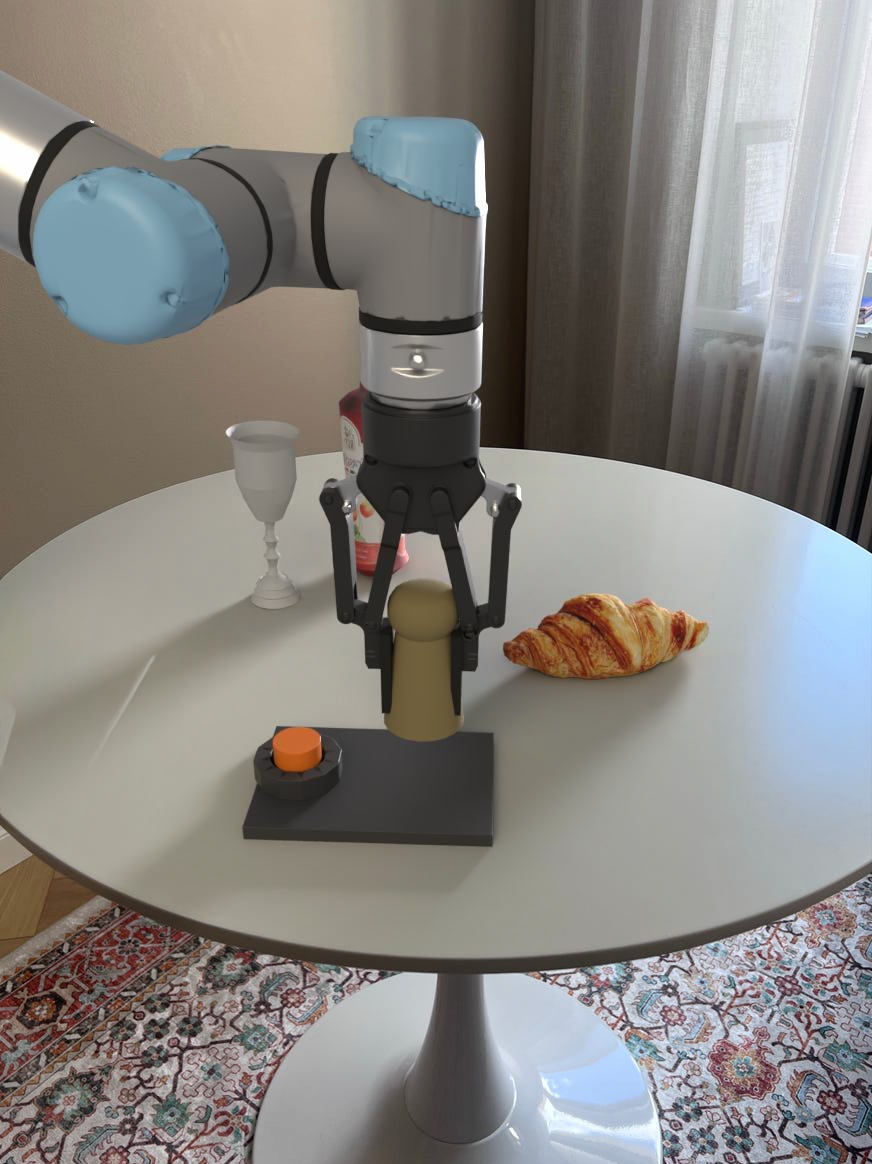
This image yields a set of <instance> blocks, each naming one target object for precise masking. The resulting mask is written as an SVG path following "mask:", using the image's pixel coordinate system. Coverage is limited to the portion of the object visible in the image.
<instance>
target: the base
mask: <svg viewBox="0 0 872 1164" xmlns="http://www.w3.org/2000/svg"><path fill="white" fill-rule="evenodd" d="M293 727H294V726H290V725H276V726H275V729H274V732H273V735H272V736H271V738H269V739H267V740H266V741H265V742H264V743H262V744H260V745H259V746H258V747H257V749H256V751H255V755H254V758H253V761H252V762H253V771H254V772H253V773H254V780H255V782H256V786H255V789H254V792H253V795H252V798H251V801H250V803H249V807H248V809H247V812H246V815H245V818H244V820H243V821H244V822H243V824H242V828H241V829H242V836H243V840H250V841H251V840H253V841H257V840H258V841H284V842H285V841H287V842H318V843H320V842H322V843H323V842H324V843H351V844H353V843H354V844H383V845H412V846H413V845H415V846H416V845H418V846H419V845H420V846H449V847H477V848H479V847H480V848H481V847H482V848H492V847H493V839H494V732H489V731H487V732H485V731H457V732H456V733H455V734H453V735H451V736H449V737H447V738H444V739H440V740H435V741H421V742H419V741H412V740H406V739H404V738H401V737H398V736H396V735H394V734H393V733H392V732H390V731H389V730H388V729H387V728H354V727H353V728H352V727H323V726H305V727H306V728H310V729H313V730H315V731H316V732H317V733H318V734H319V735H320V737H321V752H322V759H321V762H320V763H319V764H318V765H317V766H316V767H315V768H311V769H308V770H304V771H301V772H297V771H284V770H281V769H279V768H278V767H277V766H276V765H275V762H274V753H273V739H274V737H275V736H276V735H277V734H278V733H279V732H281V731H283V730H285V729H288V728H293Z"/></svg>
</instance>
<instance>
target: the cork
mask: <svg viewBox="0 0 872 1164" xmlns="http://www.w3.org/2000/svg"><path fill="white" fill-rule="evenodd" d="M387 598H388V599H387V601H386V612H387V617H388V620H389V623H390V625H391V626H392V628H393V629H394V643H393V654H392V706H391V712H390V714H388V713H383V724H384V725H385V727H386V729H388V730H389V731H390V732H392V733H393V734H394V735H396V736H398V737H401V738H404V739H406V740H412V741H419V742H421V741H435V740H440V739H444V738H447V737H449V736H451V735H453V734H455V733H456V732H459V731H460V730H461V729H462V727H463V725H464V723H465V715H464V708H463V701H462V700H463V699H462V700H461V716H456V715H455V713H454V707H453V701H452V695H451V636H452V631H453V630H454V629H455V627H456V626H457V624H458V621H459V615H458V611H457V607H456V603H455V598H454V594H453V590H452V585H451V584H448V583H446V582H444V581H442V580H438V579H434V578H428V577H427V578H426V577H425V578H424V577H423V578H420V577H419V578H412V579H408V580H406V581H403V582H401V583H400V584H398V585H396V586H395V587H394V588H393V590H392V591H391V593H390V594H389V595H388V597H387Z"/></svg>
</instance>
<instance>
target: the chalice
mask: <svg viewBox="0 0 872 1164" xmlns="http://www.w3.org/2000/svg"><path fill="white" fill-rule="evenodd" d="M299 433H300V430H299V428H298V427H296V426H294V425H293V424H289V423H287V422H283V421H276V420H250V421H245V422H244V421H243V422H239V423H235V424H233V425H231V426H229V427H228V428H227V429H226V430H225V434H226V436H227V438H228V439H229V441H230V443H231V444H232V456H233V465H234V466H233V467H234V476H235V477H234V478H235V481H236V484H237V487H238V489H239V491H240V494H241V496H242V498H243V500H244V502H245V504H246V505H247V507H248V509H249V510H250V512H251V514H252V515H253V517H254V519H255V520H256V521H258V522H261V523H263V524H264V526H265V532H264V536H263V538H262V540H263V542H264V543H265V545H266V552H265V553H264V554H263V558H264V559H265V560H266V561H267V564H268V570H267V571H266V572H265V574H263V575H261V576H260V577H259V579H257V581H256V583H255V584H256V585H255V586H254V589H253V593H252V595H251V597H250V601H251V603H252V604H253V605H254V606H256V607H258V608H260V609H267V610H278V609H280V610H281V609H285V608H289V607H292V606H293V605H295V604H297V603H298V602H299V601H300V598H301V596H300V593H299V592H298V591H297V589H296V588H297V587H296V585H294V583H293V580H292V579H291V578H290V576H289V575H287V574H285V573H284V572H281V571H280V570H279V567H278V563H279V559H280V558H281V557H282V555H281V554H280V552H278V550H277V549H278V548H277V544H278V541H279V539H280V538H279V537H278V535H277V533H276V529H275V527H276V522H279V521H281V520H283V519H284V516H285V514H286V511H287V509H288V507H289V505H290V502H291V499H292V498H293V494H294V490H295V487H296V483H297V480H298V477H297V475H298V474H297V460H296V446H295V442H296V440H297V438H298V436H299Z"/></svg>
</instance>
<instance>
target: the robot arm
mask: <svg viewBox="0 0 872 1164" xmlns="http://www.w3.org/2000/svg"><path fill="white" fill-rule="evenodd" d="M349 150H350V151H341V152H329V153H314V152H301V151H300V152H299V151H298V152H297V151H286V150H285V151H284V150H272V149H271V150H269V149H253V148H252V149H251V148H236V147H235V148H233V147H231V146H229V145H219V144H216V145H211V146H198V147H177V148H172V149H170V150H167V151H165V152H164V153H163V154H162V155H161V156H160V157H157V156H156V155H154V154H152V153H151V152H149V151H147V150H145V149H144V148H141V147H140V146H137V145H136V144H134V143H132V142H130V141H128V140H127V139H125V138H124V137H122V136H120V135H117V134H115V133H113V132H111V131H110V130H107V129H106V128H104V127H102V126H100V125H98V124H96V123H95V122H94V121H92V120H91V119H90V118H88V117H86V116H84V115H83V114H81V113H79V112H77V111H75V110H74V109H71V108H70V107H68V106H66V105H64V104H63V103H61V102H59V101H58V100H56V99H53V98H51V97H50V96H48V95H47V94H45V93H43V92H41V91H39V90H37V89H36V88H34V87H32V86H30V85H28V84H27V83H25V82H23V81H21V80H20V79H18V78H16V77H14V76H12V75H11V74H9V73H6V72H5V71H3V70H2V69H0V249H1V250H2V251H4V252H6V253H8V254H10V255H12V256H13V257H16V258H17V259H19V260H21V261H23V262H24V263H27V264H28V265H30V266H32V267H34V268H36V271H37V274H38V278H39V281H40V284H41V285H42V287H43V289H44V290H45V292H46V294H47V296H48V297H49V299H51V300H52V301H53V302H54V304H55V305H56V306H57V307H58V309H59V310H60V311H61V313H62V314H63V315H64V316H65V317H66V320H67V321H68V322H69V323H71V324H72V325H73V326H74V327H75V328H77V329H78V330H79V331H81V332H83V333H84V334H86V335H88V336H90V337H93V338H94V339H97V340H100V341H103V342H105V343H108V344H113V345H120V346H121V345H122V346H133V345H134V346H135V345H142V344H146V343H150V342H154V341H157V340H161V339H168V338H171V337H173V336H177V335H180V334H184V333H187V332H189V331H191V330H193V329H195V328H197V327H199V326H201V325H202V323H204V321H206V320H208V319H209V318H210V317H213V316H215V315H216V314H218V313H220V312H222V311H224V310H226V309H228V308H230V307H233V306H234V305H238V304H241V302H242V303H243V302H244V301H246V300H249V299H250V298H252V297H255V296H256V295H259V294H261V293H263V292H265V291H267V290H269V289H271V288H279V287H281V288H305V289H308V288H309V289H326V290H327V289H328V290H331V291H332V290H333V291H346V290H350V291H351V290H352V291H356V295H357V300H358V305H359V307H358V322H359V321H360V329H359V353H360V358H359V359H360V371H361V383H362V385H363V386H364V387H365V388H366V389H367V390H368V391H369V392H367V394H366V395H365V396H364V397H363V399H362V427H363V462H362V464H361V466H360V467H359V470H358V473H357V475H355V476H352V477H349V478H343V479H341V480H339V479H338V478H335V477H331V478H328V479H327V480H326V481H325V482H324V484H323V487H322V490H321V491H320V494H319V497H318V502H319V504H320V506H321V508H322V510H323V513H324V514H325V517H326V519H327V521H328V524H329V528H330V530H329V531H330V542H331V553H332V555H331V556H332V567H333V568H332V570H333V582H334V583H333V585H334V596H335V609H336V611H335V612H336V618H337V621H338V622H339V623H341V624H342V625H350V624H353V625H356V626H358V627H359V628H361V630H362V631H363V637H364V638H363V639H364V663H365V666H366V667H367V669H368V670H379V671H380V705H381V707H380V708H381V714H384V713H388V714H390V712H391V706H392V654H393V643H394V636H395V630H394V629H393V628H392V626H391V625H390V623H389V620H388V616H387V617H386V616H384V612H385V608H386V605H387V600H388V599H387V598H388V596H389V595H388V594H389V590H390V585H391V581H392V577H393V574H394V573H393V569H394V564H395V560H396V555H397V551H398V547H399V543H400V538H401V534H405V535H410V534H415V533H419V532H421V533H425V534H429V535H433V536H438V538H439V542H440V546H441V549H442V551H443V555H444V560H445V563H446V568H447V572H448V576H449V580H450V586H451V587H452V590H453V594H454V598H455V603H456V607H457V611H458V615H459V621H458V624H457V626H456V627H455V629H454V630H453V631H452V636H451V695H452V701H453V707H454V713H455V715H456V716H461V700H463V697H462V696H463V672H471V673H473V672H476V671H477V668H478V666H479V648H480V647H479V642H480V641H479V640H480V635H481V633H482V632H483V631H484V630H486V629H488V628H492V629H500V628H502V627H503V626H504V625H505V622H506V613H507V612H506V610H507V594H508V581H509V565H510V553H511V552H510V551H511V536H512V535H511V534H512V533H511V532H512V528H513V527H514V524H515V522H516V520H517V518H518V516H519V514H520V512H521V509H522V506H523V504H522V503H523V500H522V488H521V487H520V485H519V484H517V483H516V482H515V483H514V482H511V483H507V484H506V485H505V484H502V483H500V482H497V481H495V480H493V479H490V478H488V477H487V474H486V471H485V469H484V467H483V465H482V462H481V460H480V441H481V407H482V406H481V405H482V403H481V400H480V398H479V397H478V395H477V394H476V393H475V392H476V391H477V390H479V389H480V387H481V385H482V374H483V373H482V370H483V368H482V367H483V366H482V365H483V333H484V332H483V331H484V323H483V303H484V300H483V299H484V277H485V276H484V275H485V274H484V273H485V250H486V249H485V247H486V229H487V215H488V209H489V208H488V207H489V206H488V203H487V202H486V178H485V177H486V176H485V175H486V173H485V172H486V171H485V141H484V137H483V135H482V132H481V131H480V130H479V128H478V127H477V126H476V125H475V124H474V123H473V122H471V121H469V120H466V119H462V118H455V117H442V116H441V117H440V116H415V115H414V116H402V115H401V116H400V115H371V116H364V117H362V118H359V119H358V120H357V121H356V123H355V125H354V127H353V132H352V143H351V145H349ZM360 493H362V494H363V495H364V497H365V498H366V499H367V501H368V502H369V503H370V504H371V506H372V507H373V508H374V509H375V511H376V512H377V513H378V515H379V516H380V517H381V518H382V520H383V521H384V522H385V526H384V530H383V535H382V539H381V544H380V549H379V553H378V558H377V563H376V567H375V572H374V576H373V577H372V581H371V585H370V589H369V595H368V600H367V602H366V601H364V600H361V599H359V592H358V590H359V589H358V575H357V569H356V556H355V539H354V523H353V513H352V512H353V511H354V510H355V508H356V506H357V502H358V499H357V495H358V494H360ZM481 497H482V498H483V499H484V500H485V502H486V504H485V505H486V506H485V507H486V510H485V511H486V513H487V515H488V516H489V517H491V518H492V525H491V542H490V546H491V547H490V559H489V560H490V562H489V577H488V578H489V580H488V597H487V602H486V603H482V604H478V599H477V594H476V590H475V586H474V581H473V580H474V579H473V577H472V572H471V567H470V562H469V558H468V553H467V549H466V544H465V540H464V536H463V529H462V522H461V521H462V520H463V518H464V517H465V516H466V515H467V514H468V512H470V510H471V509H472V508H473V506H474V505H475V504H476V503H477V502H478V500H479V499H480V498H481ZM392 573H393V574H392Z"/></svg>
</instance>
